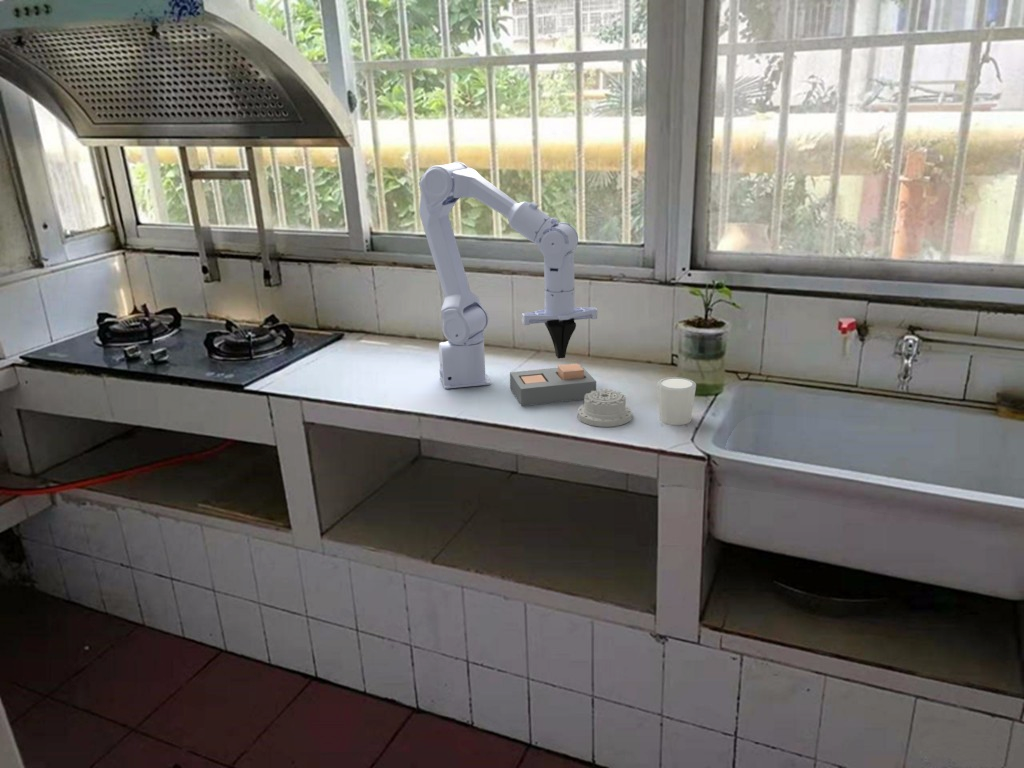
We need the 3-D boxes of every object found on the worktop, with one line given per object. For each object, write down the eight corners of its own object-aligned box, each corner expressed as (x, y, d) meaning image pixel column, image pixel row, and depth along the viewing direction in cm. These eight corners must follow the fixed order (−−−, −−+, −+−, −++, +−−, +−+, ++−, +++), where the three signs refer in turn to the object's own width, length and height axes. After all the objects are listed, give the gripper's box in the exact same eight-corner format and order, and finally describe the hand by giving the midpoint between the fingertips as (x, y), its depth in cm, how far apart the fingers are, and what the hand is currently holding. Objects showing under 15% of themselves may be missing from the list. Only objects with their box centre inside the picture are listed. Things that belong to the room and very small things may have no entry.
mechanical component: (574, 427, 143) (630, 429, 141) (574, 404, 142) (631, 406, 140) (580, 406, 152) (632, 408, 150) (580, 385, 151) (633, 387, 149)
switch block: (521, 406, 153) (520, 388, 151) (510, 388, 162) (509, 372, 161) (596, 398, 156) (596, 381, 154) (581, 381, 165) (581, 365, 164)
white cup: (699, 425, 142) (701, 388, 139) (661, 427, 141) (662, 390, 139) (688, 411, 148) (689, 375, 146) (651, 413, 148) (653, 377, 145)
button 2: (563, 387, 156) (563, 372, 155) (557, 380, 160) (557, 365, 159) (583, 385, 157) (583, 370, 156) (577, 378, 161) (577, 363, 160)
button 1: (525, 399, 156) (525, 383, 154) (521, 391, 159) (520, 376, 158) (546, 396, 156) (546, 381, 155) (541, 389, 160) (541, 374, 159)
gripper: (527, 296, 147) (528, 366, 151) (602, 290, 149) (602, 359, 154) (518, 288, 153) (521, 355, 158) (591, 282, 156) (591, 348, 160)
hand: (560, 356), depth 156 cm, fingers closed
